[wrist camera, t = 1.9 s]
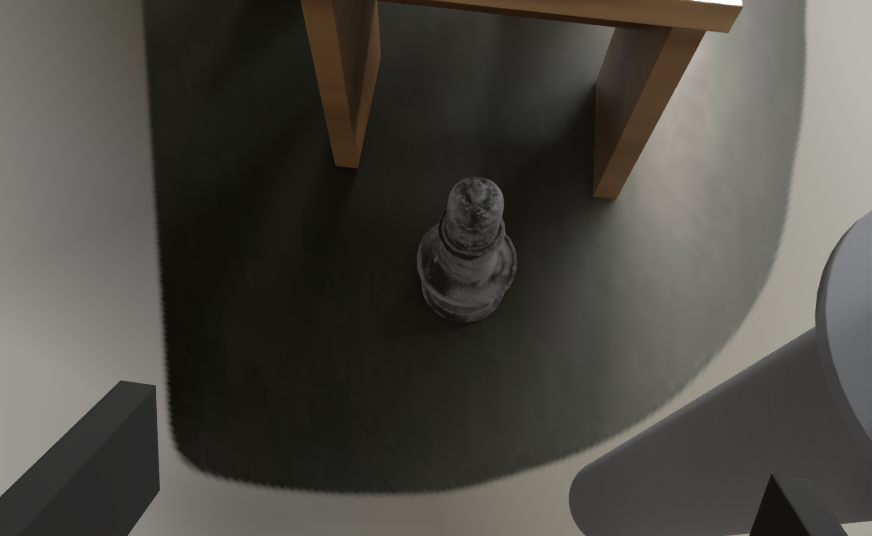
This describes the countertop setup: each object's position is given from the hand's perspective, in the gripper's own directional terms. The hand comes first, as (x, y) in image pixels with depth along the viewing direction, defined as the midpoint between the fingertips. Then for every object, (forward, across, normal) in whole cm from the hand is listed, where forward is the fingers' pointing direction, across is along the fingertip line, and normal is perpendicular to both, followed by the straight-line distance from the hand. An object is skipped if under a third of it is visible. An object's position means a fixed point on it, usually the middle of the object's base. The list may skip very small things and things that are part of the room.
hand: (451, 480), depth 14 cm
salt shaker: (+27, 0, -6) cm, 28 cm away
